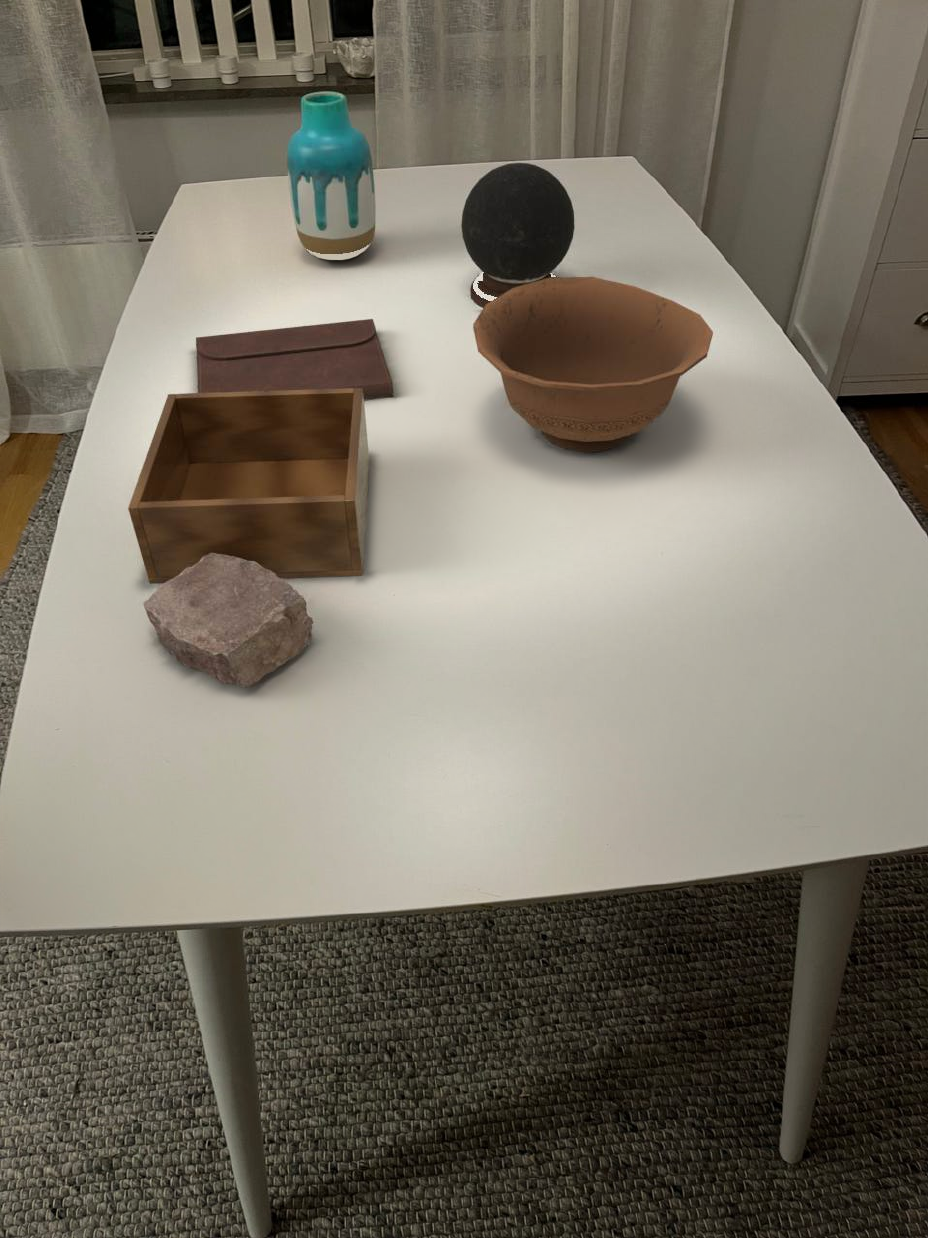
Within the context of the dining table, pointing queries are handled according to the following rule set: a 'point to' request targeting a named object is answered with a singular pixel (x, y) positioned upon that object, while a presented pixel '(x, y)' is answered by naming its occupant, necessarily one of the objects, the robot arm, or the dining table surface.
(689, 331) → the bowl
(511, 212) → the black ball on stand
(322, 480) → the box
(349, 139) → the vase
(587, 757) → the dining table surface
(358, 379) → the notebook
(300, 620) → the stone
